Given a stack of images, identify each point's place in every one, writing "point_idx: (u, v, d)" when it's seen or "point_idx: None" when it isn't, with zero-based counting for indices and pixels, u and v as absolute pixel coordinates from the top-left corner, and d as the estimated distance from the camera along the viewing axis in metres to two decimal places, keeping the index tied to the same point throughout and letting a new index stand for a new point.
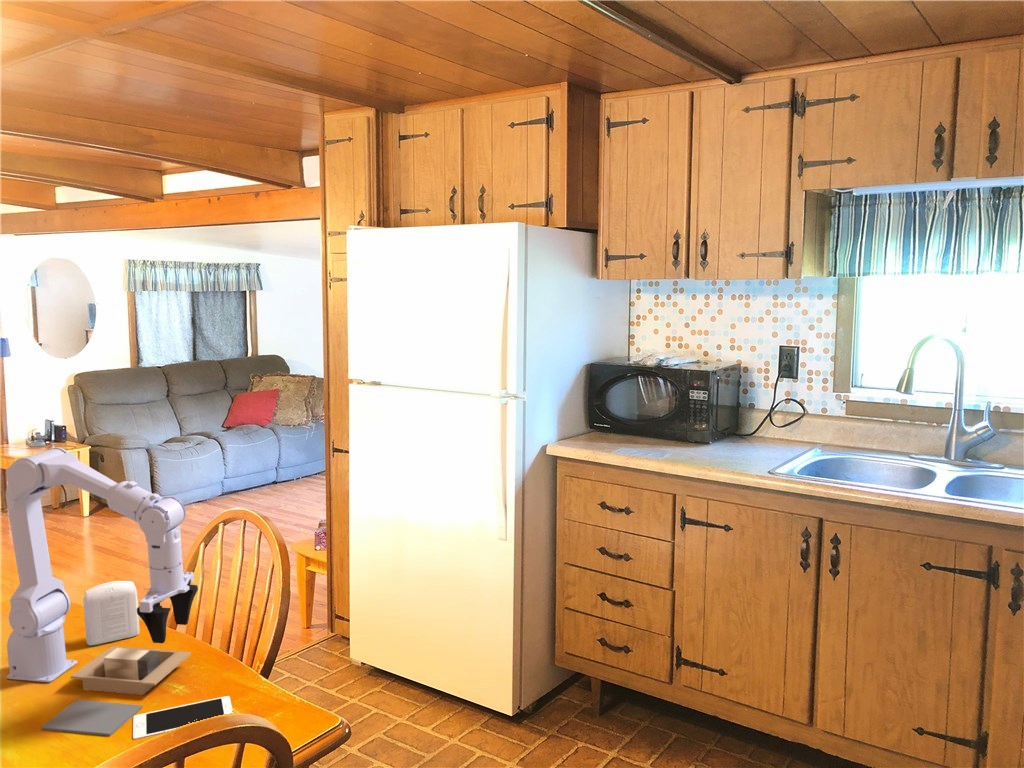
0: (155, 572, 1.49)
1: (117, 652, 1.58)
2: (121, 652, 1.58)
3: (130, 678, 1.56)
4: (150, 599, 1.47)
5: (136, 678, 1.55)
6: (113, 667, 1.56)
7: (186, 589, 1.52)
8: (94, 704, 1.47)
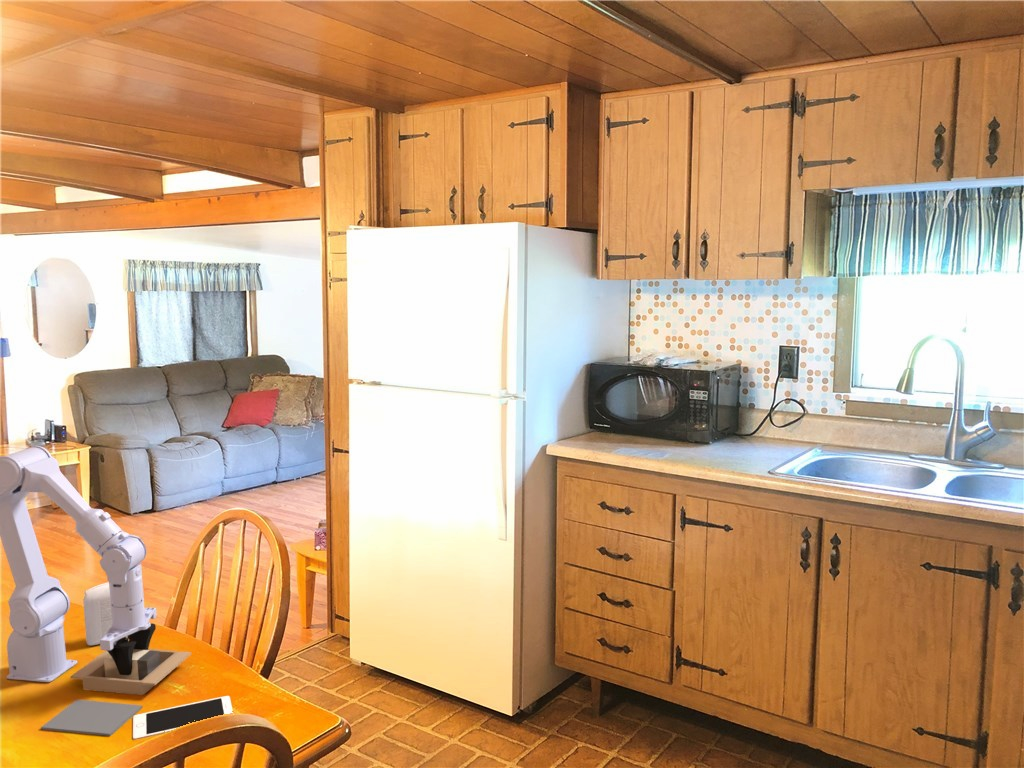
0: (116, 610, 1.53)
1: None
2: None
3: (130, 678, 1.56)
4: (111, 637, 1.51)
5: (136, 678, 1.55)
6: (113, 667, 1.56)
7: (147, 626, 1.55)
8: (94, 704, 1.47)
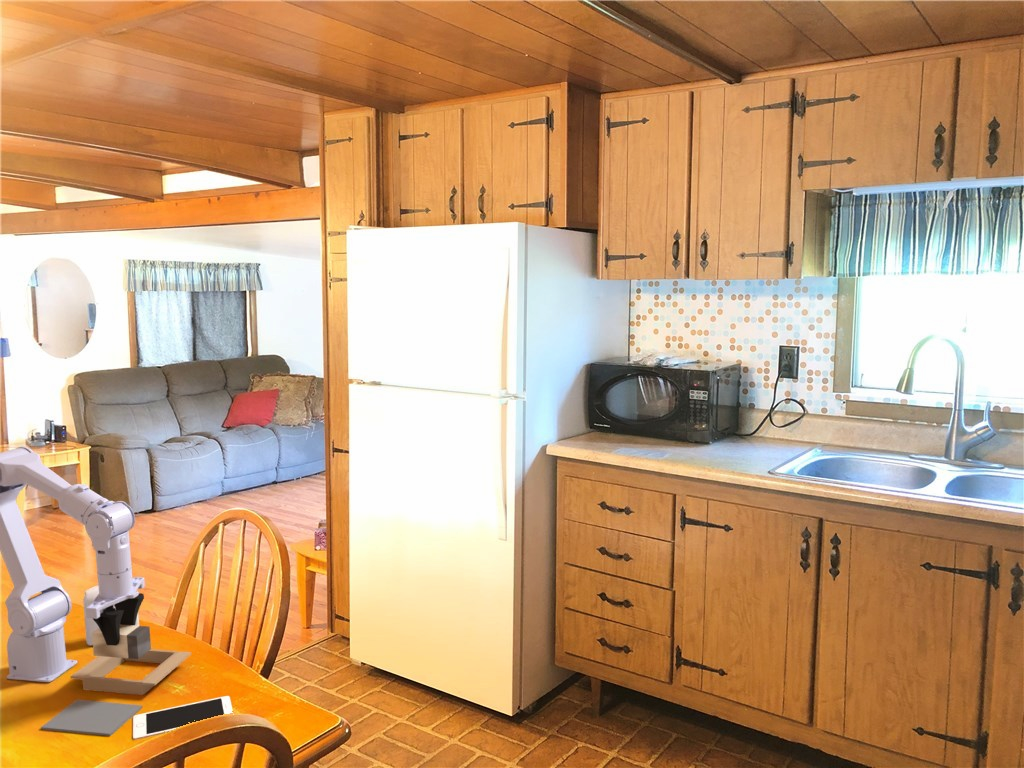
0: (103, 578, 1.48)
1: None
2: None
3: (119, 654, 1.51)
4: (97, 605, 1.46)
5: (125, 654, 1.51)
6: (102, 643, 1.51)
7: (135, 594, 1.50)
8: (94, 704, 1.47)
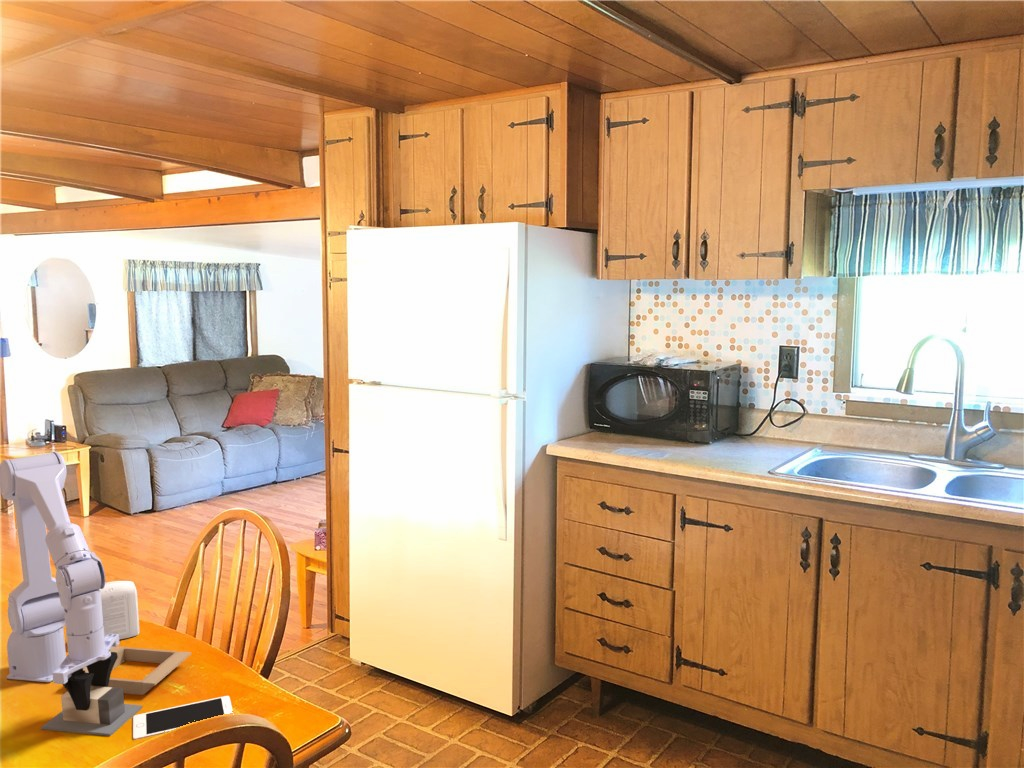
0: (72, 639, 1.38)
1: None
2: None
3: (90, 719, 1.41)
4: (65, 669, 1.36)
5: (97, 719, 1.41)
6: (72, 707, 1.41)
7: (106, 655, 1.41)
8: None
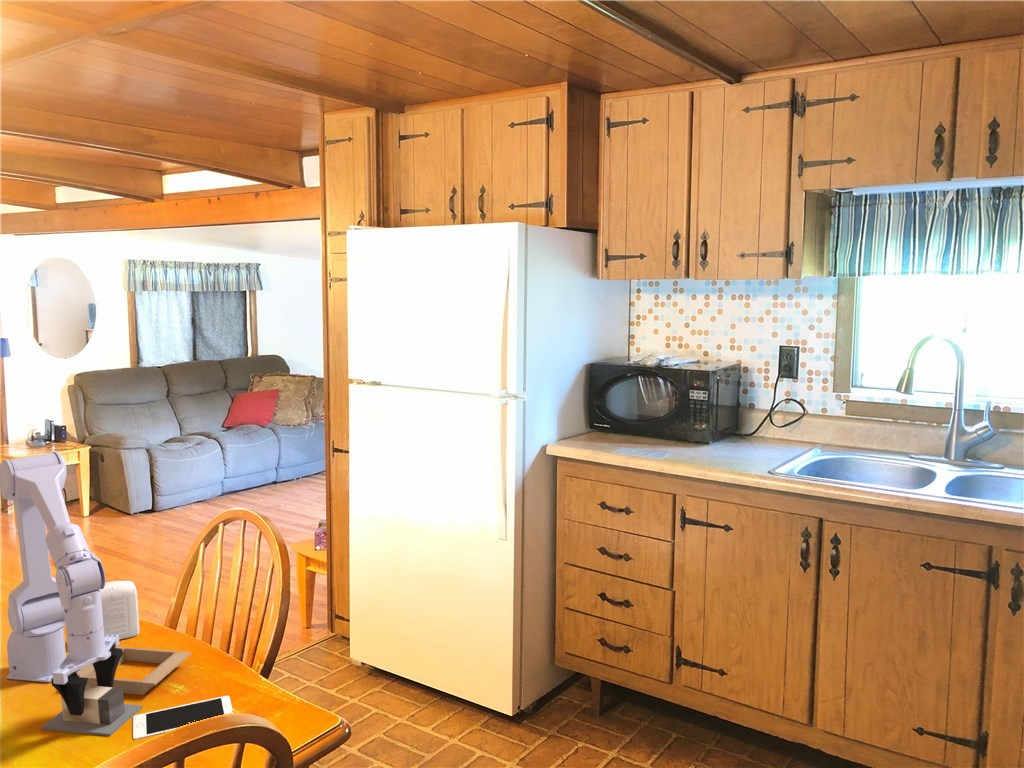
0: (72, 639, 1.38)
1: None
2: None
3: (90, 719, 1.41)
4: (65, 669, 1.36)
5: (97, 719, 1.41)
6: None
7: (106, 656, 1.41)
8: None
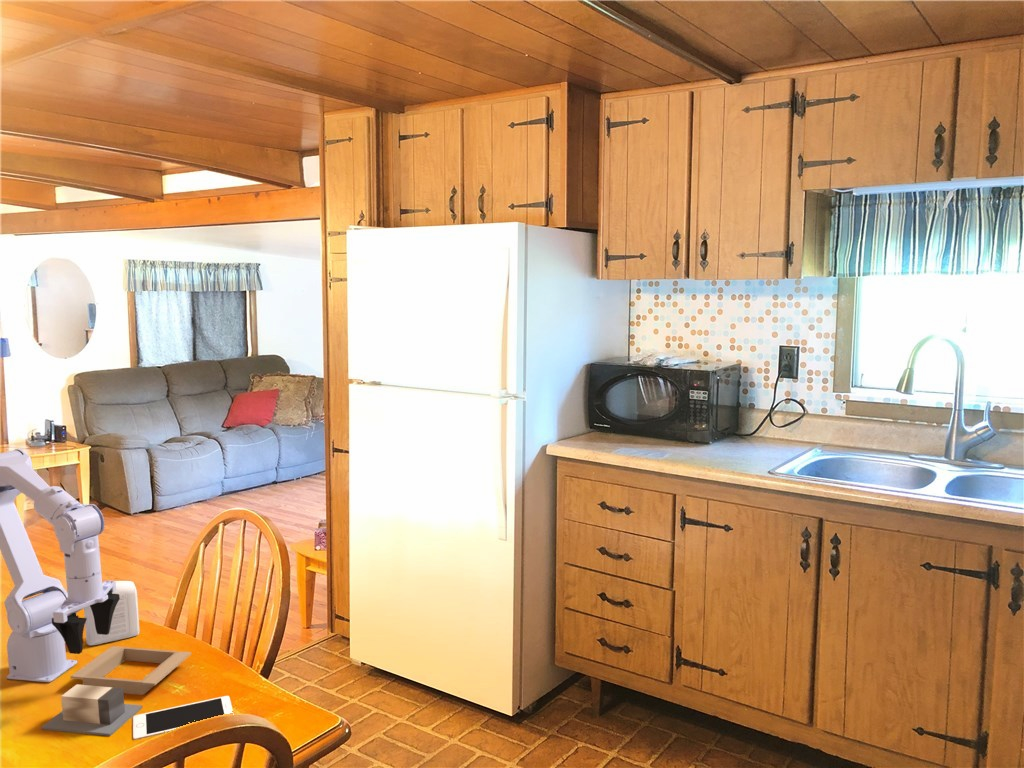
0: (71, 581, 1.47)
1: (77, 689, 1.43)
2: (81, 689, 1.44)
3: (90, 719, 1.41)
4: (65, 609, 1.44)
5: (97, 719, 1.41)
6: (72, 707, 1.41)
7: (104, 598, 1.49)
8: None
